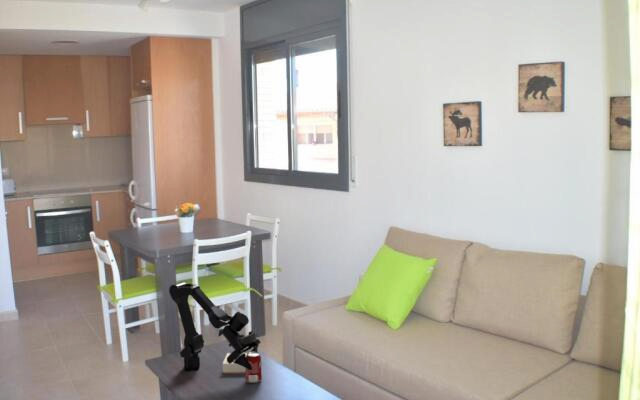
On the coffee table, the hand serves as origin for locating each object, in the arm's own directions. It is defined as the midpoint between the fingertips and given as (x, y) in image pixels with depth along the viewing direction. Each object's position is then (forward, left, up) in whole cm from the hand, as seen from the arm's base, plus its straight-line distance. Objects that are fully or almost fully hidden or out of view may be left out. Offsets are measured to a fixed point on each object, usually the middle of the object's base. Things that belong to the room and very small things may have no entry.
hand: (256, 366), depth 249 cm
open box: (-6, +17, -7) cm, 19 cm away
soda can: (-1, +1, -7) cm, 7 cm away
